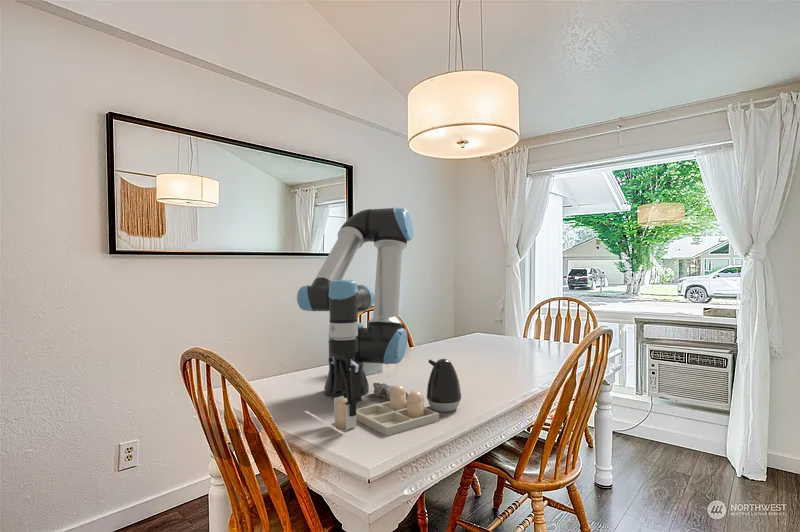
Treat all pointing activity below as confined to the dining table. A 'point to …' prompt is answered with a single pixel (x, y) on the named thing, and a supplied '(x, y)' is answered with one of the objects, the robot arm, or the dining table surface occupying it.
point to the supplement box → (372, 368)
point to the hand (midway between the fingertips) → (345, 424)
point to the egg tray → (392, 418)
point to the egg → (341, 413)
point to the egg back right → (415, 405)
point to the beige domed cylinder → (397, 398)
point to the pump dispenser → (443, 387)
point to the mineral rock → (383, 391)
